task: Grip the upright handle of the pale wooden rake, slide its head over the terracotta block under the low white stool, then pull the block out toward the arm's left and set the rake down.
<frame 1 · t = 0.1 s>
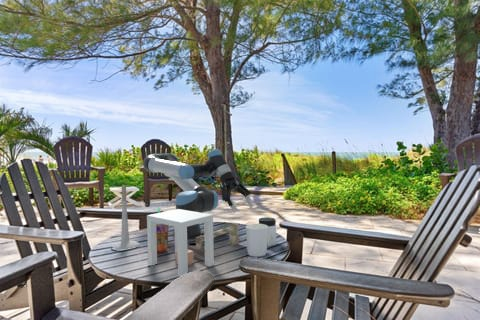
hand: (244, 209, 153), 15 cm above the table, tool tilted 35°, fingers open, 13 cm apart
block: (184, 263, 121), on the table
candlestick: (125, 247, 143), on the table
candle holder: (257, 253, 131), on the table
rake: (234, 244, 145), on the table
stool: (180, 264, 119), on the table
jar: (267, 244, 145), on the table
smoothie: (160, 251, 136), on the table
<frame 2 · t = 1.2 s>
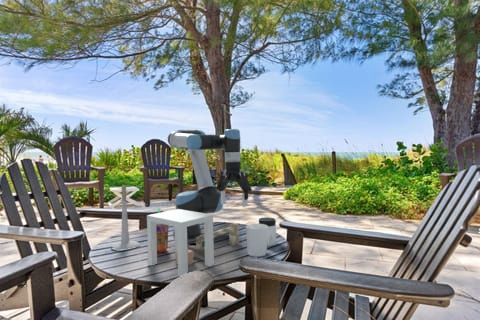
hand: (233, 205, 145), 19 cm above the table, tool pointing down, fingers open, 13 cm apart
nothing on the table moved.
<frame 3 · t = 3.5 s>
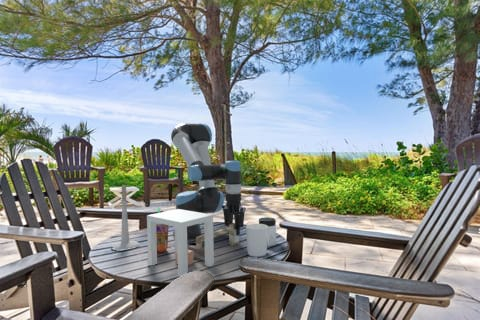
hand: (234, 241, 145), 2 cm above the table, tool pointing down, fingers closed on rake, 2 cm apart
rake: (234, 244, 145), on the table, touching gripper
everything else where it was.
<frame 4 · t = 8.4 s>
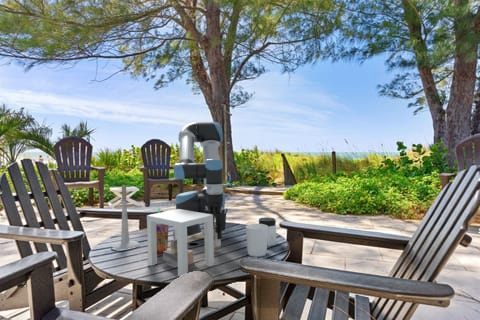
hand: (215, 245, 135), 3 cm above the table, tool pointing down, fingers closed on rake, 2 cm apart
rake: (215, 248, 135), point 1 cm above the table, touching gripper
everything else where it was.
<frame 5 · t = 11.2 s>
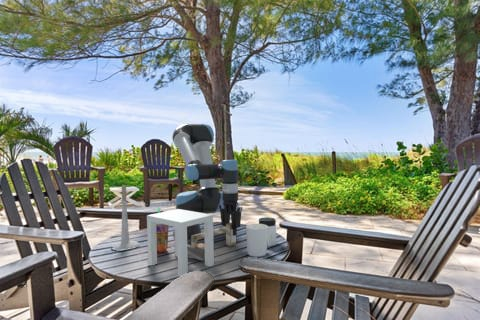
hand: (231, 241, 143), 2 cm above the table, tool pointing down, fingers closed on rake, 2 cm apart
block: (201, 257, 128), on the table, touching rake
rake: (230, 244, 143), point 1 cm above the table, touching block, gripper
everything else where it was.
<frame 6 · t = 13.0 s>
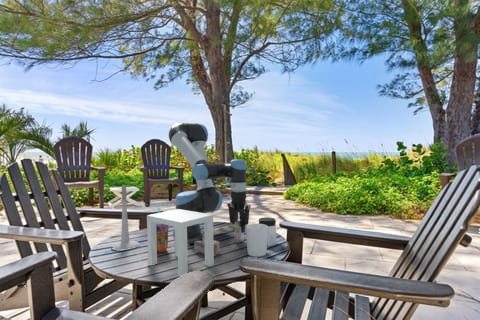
hand: (239, 238, 148), 2 cm above the table, tool pointing down, fingers closed on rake, 2 cm apart
block: (211, 253, 132), on the table, touching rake
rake: (239, 241, 148), point 1 cm above the table, touching block, gripper
everything else where it was.
when the fingers open (2 cm above the table, at t = 13.6 s): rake stays where it is, on the table.
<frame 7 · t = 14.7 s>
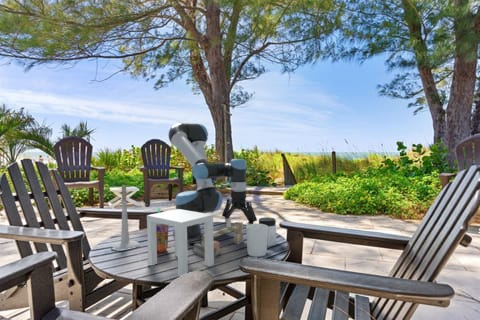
hand: (239, 233, 148), 4 cm above the table, tool pointing down, fingers open, 13 cm apart
block: (211, 253, 132), on the table
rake: (238, 242, 147), on the table
everything else where it was.
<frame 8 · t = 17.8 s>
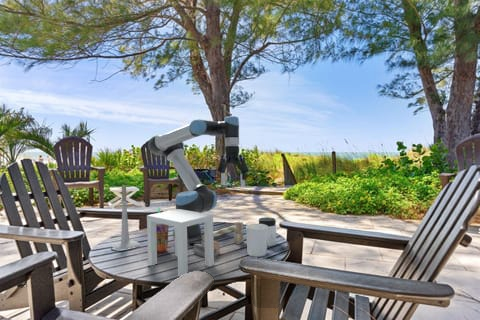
hand: (232, 185, 160), 27 cm above the table, tool pointing down, fingers open, 13 cm apart
nothing on the table moved.
at the end: block inside the target area (0.9 cm from its centre), on the table; block tilted 0° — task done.
